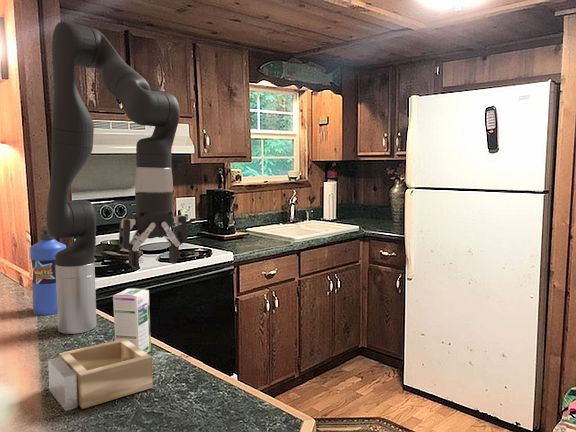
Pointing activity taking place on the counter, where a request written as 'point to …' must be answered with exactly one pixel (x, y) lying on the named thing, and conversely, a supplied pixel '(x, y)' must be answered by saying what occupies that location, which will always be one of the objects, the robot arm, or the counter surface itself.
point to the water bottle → (44, 273)
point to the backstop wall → (63, 383)
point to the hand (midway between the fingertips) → (154, 265)
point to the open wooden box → (109, 371)
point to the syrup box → (133, 317)
